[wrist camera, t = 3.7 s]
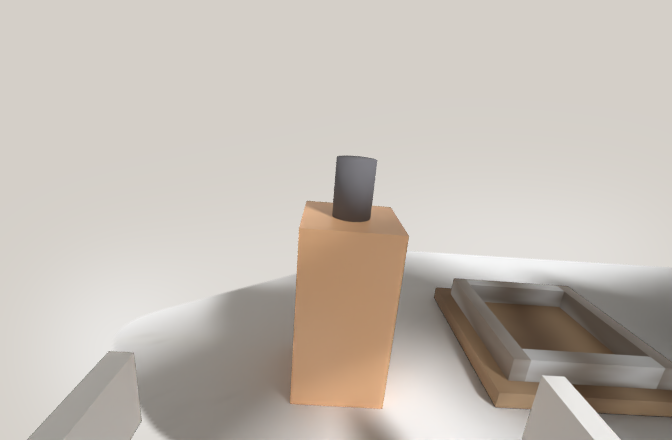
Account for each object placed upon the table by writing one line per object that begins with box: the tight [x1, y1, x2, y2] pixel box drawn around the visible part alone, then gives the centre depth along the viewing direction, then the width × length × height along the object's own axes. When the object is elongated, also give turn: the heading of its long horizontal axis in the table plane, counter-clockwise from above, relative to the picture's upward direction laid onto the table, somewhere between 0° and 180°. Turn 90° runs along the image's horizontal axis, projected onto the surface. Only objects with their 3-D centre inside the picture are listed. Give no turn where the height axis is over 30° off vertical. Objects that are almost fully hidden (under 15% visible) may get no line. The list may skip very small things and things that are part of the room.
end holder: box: [434, 278, 672, 417], centre depth 25 cm, size 12×12×2 cm
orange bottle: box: [290, 156, 409, 409], centre depth 19 cm, size 5×5×13 cm
